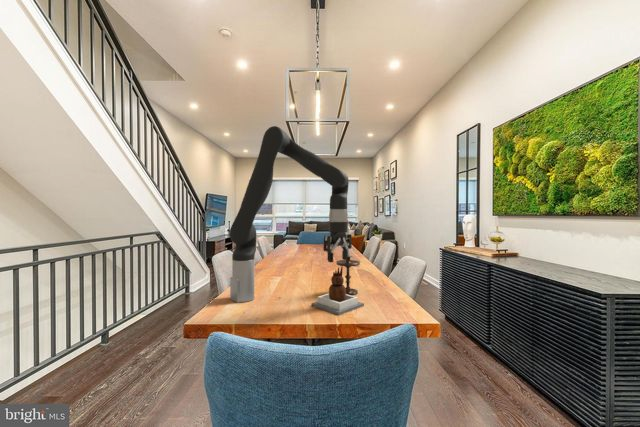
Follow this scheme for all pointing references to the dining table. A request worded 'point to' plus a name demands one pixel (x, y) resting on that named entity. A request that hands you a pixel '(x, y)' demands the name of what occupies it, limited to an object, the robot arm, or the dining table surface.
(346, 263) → the candlestick
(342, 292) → the wooden figurine
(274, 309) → the dining table surface
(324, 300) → the plate
